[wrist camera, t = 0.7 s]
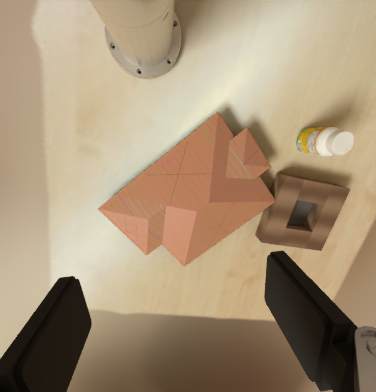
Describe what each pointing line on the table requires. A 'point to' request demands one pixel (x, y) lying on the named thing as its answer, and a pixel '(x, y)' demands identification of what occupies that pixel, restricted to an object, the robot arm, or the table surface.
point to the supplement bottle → (324, 141)
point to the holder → (301, 212)
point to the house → (194, 193)
